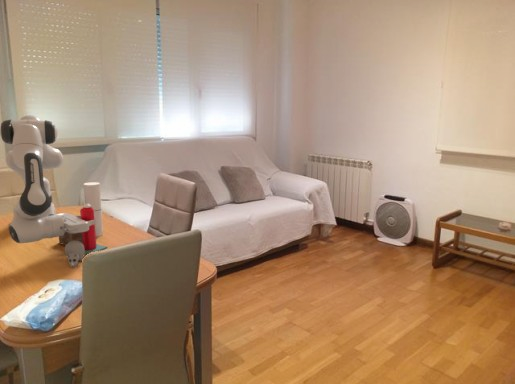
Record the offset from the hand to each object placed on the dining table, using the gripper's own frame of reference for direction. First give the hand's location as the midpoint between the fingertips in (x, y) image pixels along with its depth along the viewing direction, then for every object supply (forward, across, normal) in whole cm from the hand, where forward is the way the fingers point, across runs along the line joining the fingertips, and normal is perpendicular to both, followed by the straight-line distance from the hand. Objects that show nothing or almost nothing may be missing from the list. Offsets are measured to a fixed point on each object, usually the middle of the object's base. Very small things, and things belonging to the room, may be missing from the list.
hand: (89, 219), depth 173 cm
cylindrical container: (+10, +18, +14) cm, 25 cm away
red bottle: (-1, 0, +13) cm, 13 cm away
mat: (-1, 0, +13) cm, 13 cm away
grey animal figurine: (-12, -11, +14) cm, 21 cm away
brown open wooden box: (-1, +14, +13) cm, 19 cm away
